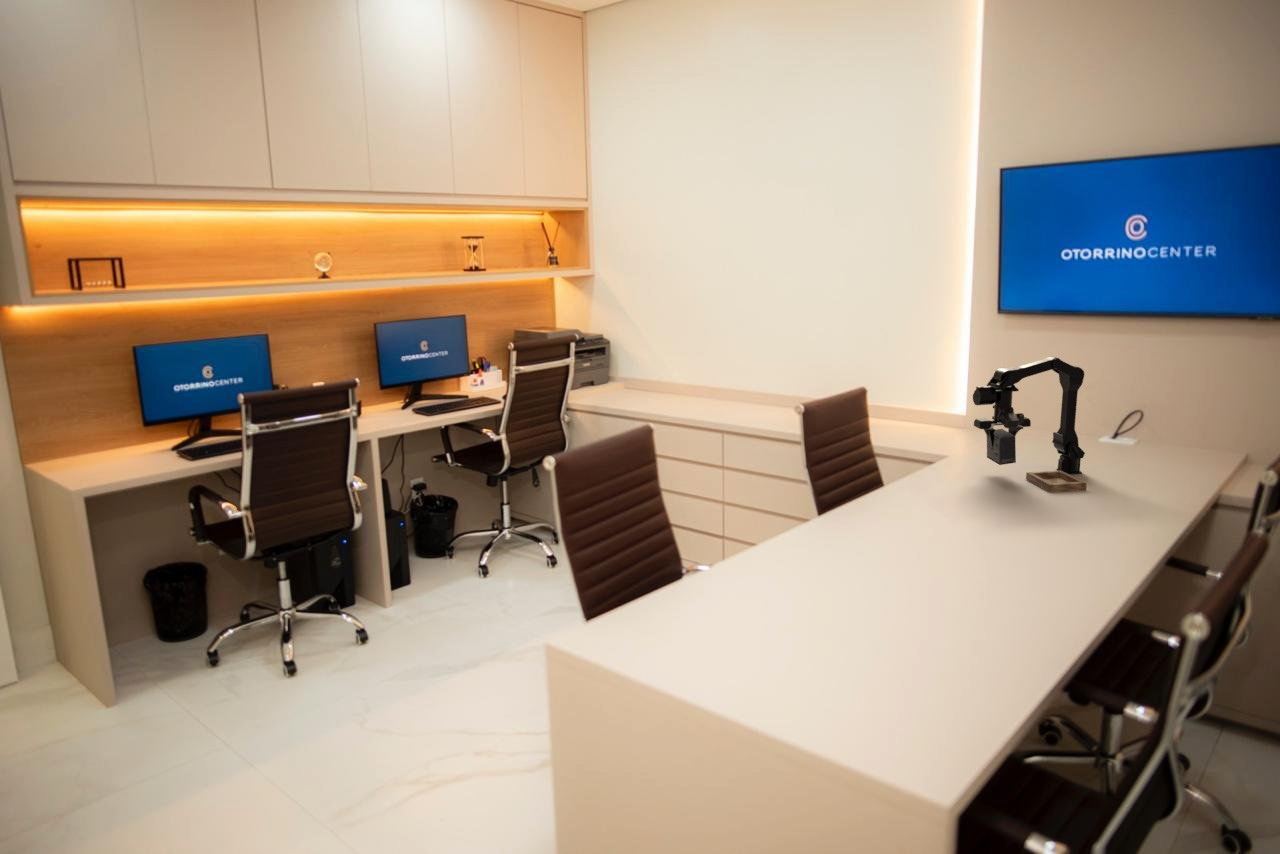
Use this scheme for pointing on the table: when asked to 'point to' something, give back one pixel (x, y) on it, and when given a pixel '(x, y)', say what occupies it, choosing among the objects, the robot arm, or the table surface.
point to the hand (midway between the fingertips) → (1000, 445)
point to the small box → (1002, 448)
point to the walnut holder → (1056, 481)
